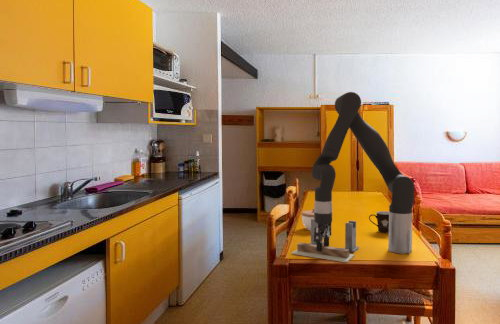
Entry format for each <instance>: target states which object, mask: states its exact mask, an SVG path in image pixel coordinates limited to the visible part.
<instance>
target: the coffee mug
mask: <svg viewBox="0 0 500 324" xmlns="http://www.w3.org/2000/svg"><path fill="white" fill-rule="evenodd" d="M373 216H374V217H375V219H376V222H377V224H376V223H375V222H373V221H372V220H371V217H373ZM368 219H369V221H370V222H371V223H372V224H373V225H375V226H376V227H377V232H378V233H381V234H389V210H388V211H386V210H382V211H376V214H369V216H368Z"/></svg>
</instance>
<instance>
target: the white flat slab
mask: <svg viewBox="0 0 500 324" xmlns="http://www.w3.org/2000/svg"><path fill="white" fill-rule="evenodd" d="M291 254H292V255H295V256H297V255H298V256H303V257H311V258H316V259H322V260H328V261H334V262H341V263H349V261H351V260H352V259H353V258H354V257H355V254H354V253H349V257H348V258H341V257H334V256H328V255H321V254H314V253H308V252H301V251H297V249H296V250H294V251H291Z"/></svg>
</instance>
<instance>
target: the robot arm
mask: <svg viewBox="0 0 500 324" xmlns="http://www.w3.org/2000/svg"><path fill="white" fill-rule="evenodd" d="M361 106H362V99H361V97H360V95H359V94H358V93H357V92H354V91H348V92H346V93H343V94H342V95H340V96H338V97H337V98H336V99H335V101H334V110H335V111H336V113H337V114H338V117H337V119H336V121H335V123H334V125H333V127H332V128H331V130H330V132H329V134H328V136H327V137H326V141H325V143H324V145H323V148H322V152H321V153H320V155H318V157H317V158H316V160H315V162H314V163H313V165H312V167H311V176H312V177H313V179H315V180H316V181H317V180H318V181H320V185H318V186H317V187H315V188H314V207H313V209H314V222H315V223H318V227H317V228H316V227H315V228H314V242H317V243H316V250H317V251H318V252H321V251H322V246H328V247H330V238H331V236H332V223H333V200H332V199H333V195H332V193H333V189H334V185H335V182H336V176H337V175H336V174H337V173H336V169H335V167H334V166H333V165H332V164H331V163H332V162H335V161H336V160H338V158H339V155H340V152H341V150H342V147H343V144H344V141H345V138H346V136H347V134H348V132H349V129H350V131H351V132H352V134H353V136H354V137H355V138H356V140H357V142H358V143H359V145H360V147H361V148H362V150H363V152H364V153H365V154H366V156H367V157H368V159H369V160H370V161H371V163H372V164H373V165H374V167H375V168H376V169H377V171H378V172H379V174H380V175H381V177H382V178H383V180H384V183H385V184H386V187H387V189H388V191H389V192H390V193H391V203H390V204H389V206H388V212H389V233H388V243H387V245H388V251H389V252H391V253H395V254H402V255H403V254H405V253H408V255H409V254H411V252H412V251H413V229H412V218H413V217H412V215H413V214H412V211H413V207H414V203H415V199H414V198H415V184H414V181H413V180H412V179H411V178H410V177H409V176H407V175H404V174H403V173H402V172H401V171H400V169H399V168H398V166H396V164H395V162H394V160H393V158H392V155H391V151H390V149H389V147H388V145H387V143H386V142H385V140H384V138H383V137H382V136H381V134H380V133H379V132H378V131H377V130H376V129H375V128H374V127H373V126H371V125H370V124H369V123H368V122H366V121H365V120H364V118H362V115H360V113H359V110H360V108H361ZM318 238H319V239H318ZM322 242H324V245H322ZM411 250H412V251H411Z"/></svg>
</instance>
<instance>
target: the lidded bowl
mask: <svg viewBox="0 0 500 324" xmlns="http://www.w3.org/2000/svg"><path fill="white" fill-rule="evenodd" d="M301 219H302V224H303V226H304V227H305V228H306V230H307V231H310V232H311V219H314V208H312V209H310V210H303V211H301Z"/></svg>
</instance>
